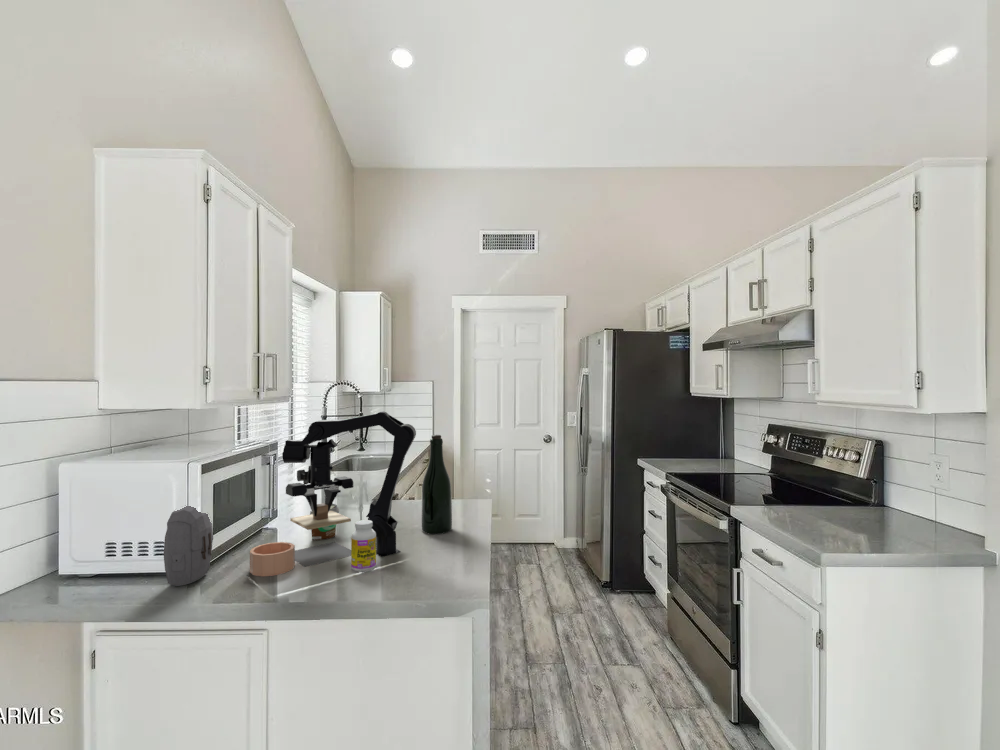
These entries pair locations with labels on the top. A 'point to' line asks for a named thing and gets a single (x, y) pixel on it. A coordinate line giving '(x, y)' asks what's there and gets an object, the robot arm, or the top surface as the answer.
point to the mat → (321, 554)
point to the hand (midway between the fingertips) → (320, 514)
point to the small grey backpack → (187, 546)
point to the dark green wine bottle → (436, 492)
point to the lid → (320, 518)
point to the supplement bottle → (363, 547)
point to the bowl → (272, 559)
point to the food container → (325, 528)
